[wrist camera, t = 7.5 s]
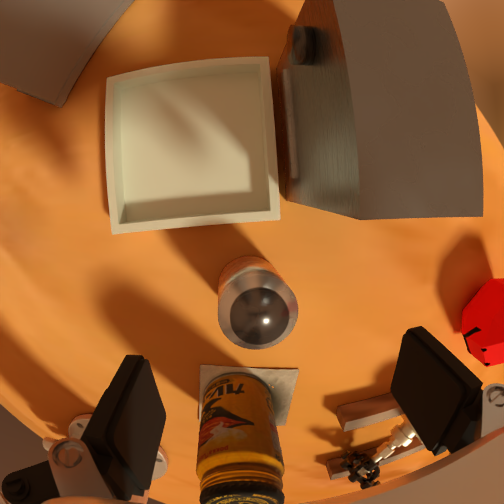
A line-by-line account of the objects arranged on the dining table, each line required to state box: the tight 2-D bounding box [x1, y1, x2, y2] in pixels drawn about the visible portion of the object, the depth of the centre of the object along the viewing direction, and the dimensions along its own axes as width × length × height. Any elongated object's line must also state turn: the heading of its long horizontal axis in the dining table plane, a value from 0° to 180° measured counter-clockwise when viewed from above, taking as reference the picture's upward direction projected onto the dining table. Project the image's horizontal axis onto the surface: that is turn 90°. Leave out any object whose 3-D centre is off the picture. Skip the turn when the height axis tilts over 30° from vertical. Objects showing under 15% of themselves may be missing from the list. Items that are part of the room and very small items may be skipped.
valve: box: [340, 414, 423, 490], centre depth 23 cm, size 7×7×12 cm
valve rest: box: [326, 393, 426, 480], centre depth 25 cm, size 14×12×2 cm
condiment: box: [196, 365, 299, 504], centre depth 18 cm, size 7×8×12 cm
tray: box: [105, 57, 280, 234], centre depth 17 cm, size 11×11×2 cm
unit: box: [276, 0, 483, 220], centre depth 13 cm, size 7×10×12 cm
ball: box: [462, 279, 504, 367], centre depth 20 cm, size 8×8×8 cm
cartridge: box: [218, 256, 298, 349], centre depth 18 cm, size 4×4×6 cm
